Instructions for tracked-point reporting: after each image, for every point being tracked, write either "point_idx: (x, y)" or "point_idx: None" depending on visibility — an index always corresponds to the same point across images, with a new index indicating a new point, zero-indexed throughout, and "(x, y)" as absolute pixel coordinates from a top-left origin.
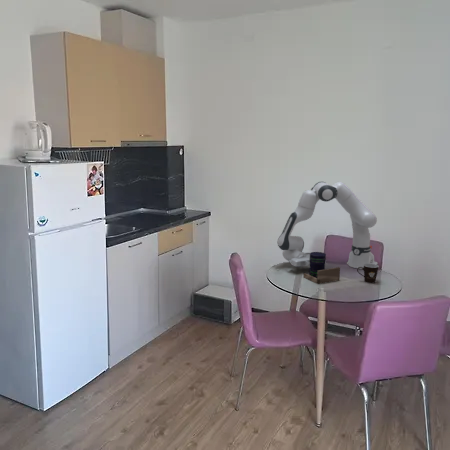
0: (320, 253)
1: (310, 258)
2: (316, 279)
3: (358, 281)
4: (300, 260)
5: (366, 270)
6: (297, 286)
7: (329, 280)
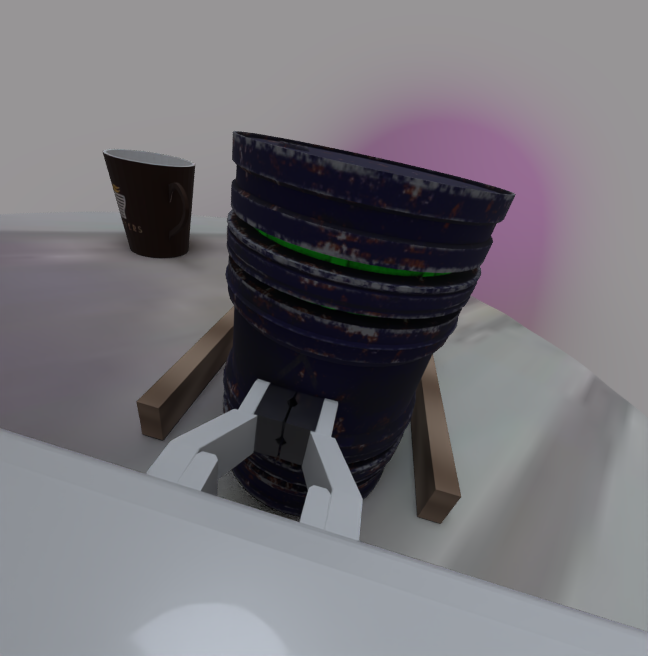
0: (308, 149)
1: (479, 270)
2: None
3: (197, 268)
4: (554, 636)
5: (190, 190)
6: (585, 418)
7: None
